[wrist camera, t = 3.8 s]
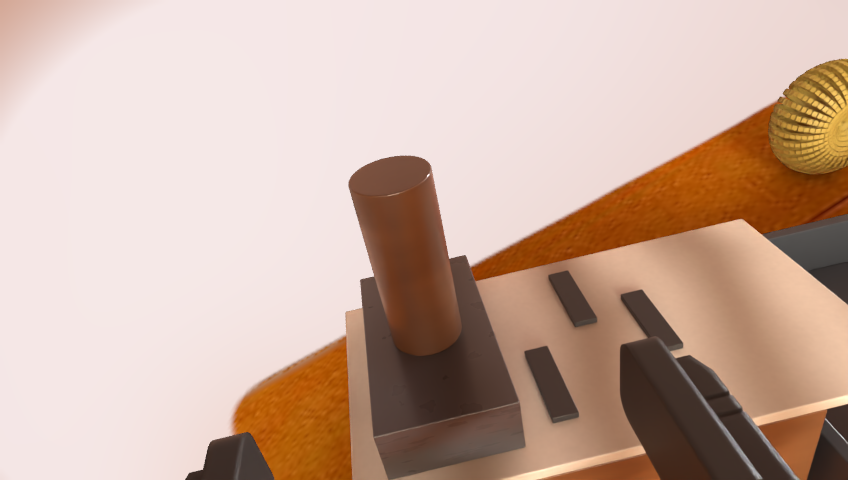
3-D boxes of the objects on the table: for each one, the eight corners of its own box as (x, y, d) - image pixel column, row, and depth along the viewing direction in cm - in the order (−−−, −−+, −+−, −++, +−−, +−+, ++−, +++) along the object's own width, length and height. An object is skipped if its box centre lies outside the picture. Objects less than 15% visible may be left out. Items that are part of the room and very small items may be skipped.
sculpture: (846, 146, 44) (871, 40, 40) (892, 167, 41) (924, 54, 36) (748, 172, 44) (763, 67, 39) (787, 195, 40) (807, 84, 36)
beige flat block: (390, 602, 23) (353, 516, 19) (372, 393, 32) (345, 311, 29) (890, 478, 23) (934, 374, 20) (729, 308, 32) (742, 218, 29)
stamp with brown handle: (388, 481, 20) (312, 268, 15) (372, 318, 28) (317, 140, 23) (526, 447, 20) (496, 225, 15) (472, 294, 28) (440, 111, 23)
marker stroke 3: (659, 354, 23) (659, 349, 23) (620, 299, 26) (620, 293, 26) (683, 348, 23) (684, 343, 23) (641, 294, 26) (641, 288, 26)
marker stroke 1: (575, 327, 25) (575, 322, 25) (548, 279, 28) (547, 274, 28) (597, 322, 25) (597, 317, 25) (568, 274, 28) (568, 269, 28)
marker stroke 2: (552, 423, 21) (552, 418, 21) (524, 355, 24) (523, 350, 24) (579, 417, 21) (579, 412, 21) (547, 350, 24) (547, 345, 24)
